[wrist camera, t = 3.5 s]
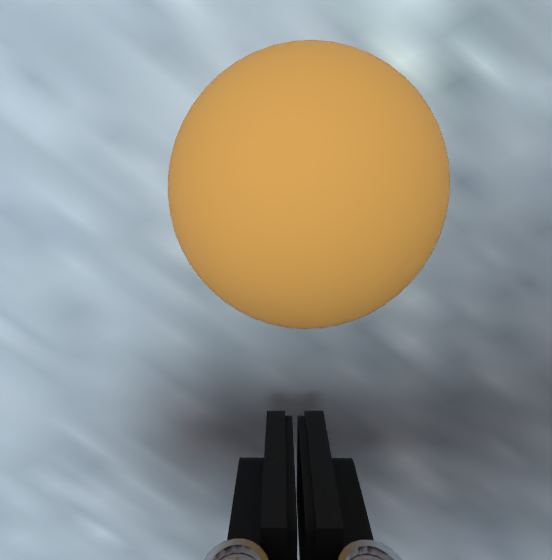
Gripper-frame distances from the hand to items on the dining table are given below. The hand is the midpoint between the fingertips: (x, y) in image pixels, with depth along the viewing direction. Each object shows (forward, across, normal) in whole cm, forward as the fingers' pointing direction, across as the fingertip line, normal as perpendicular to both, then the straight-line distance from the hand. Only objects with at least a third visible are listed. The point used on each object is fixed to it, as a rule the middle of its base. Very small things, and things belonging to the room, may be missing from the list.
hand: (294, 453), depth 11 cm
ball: (-1, 0, -8) cm, 8 cm away
